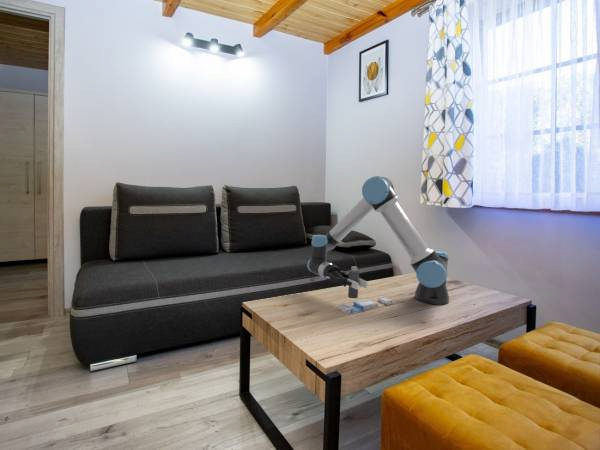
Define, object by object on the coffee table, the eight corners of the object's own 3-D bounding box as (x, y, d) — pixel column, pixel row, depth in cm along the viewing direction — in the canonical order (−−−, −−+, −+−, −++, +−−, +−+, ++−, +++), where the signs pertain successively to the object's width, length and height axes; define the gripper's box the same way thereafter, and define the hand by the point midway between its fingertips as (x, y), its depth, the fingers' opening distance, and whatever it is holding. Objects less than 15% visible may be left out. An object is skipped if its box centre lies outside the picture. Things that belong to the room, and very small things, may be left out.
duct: (382, 299, 161) (382, 295, 161) (393, 304, 155) (393, 300, 155) (337, 308, 149) (338, 303, 149) (348, 314, 143) (348, 309, 142)
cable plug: (353, 294, 151) (355, 265, 149) (359, 297, 147) (361, 267, 146) (346, 296, 149) (347, 266, 147) (352, 298, 145) (353, 268, 144)
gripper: (344, 277, 167) (377, 291, 147) (313, 281, 159) (344, 297, 139) (344, 262, 166) (378, 274, 146) (314, 265, 158) (345, 278, 138)
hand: (361, 285), depth 142 cm, fingers closed on cable plug, 4 cm apart
